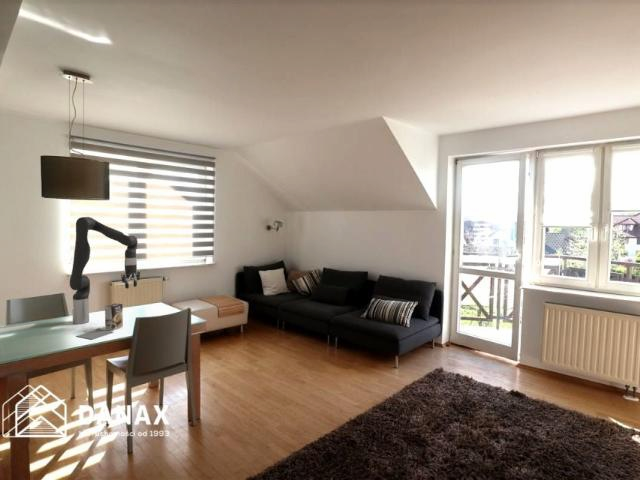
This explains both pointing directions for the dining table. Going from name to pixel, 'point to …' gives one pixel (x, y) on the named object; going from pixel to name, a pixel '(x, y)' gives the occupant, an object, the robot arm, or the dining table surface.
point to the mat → (95, 334)
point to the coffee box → (113, 316)
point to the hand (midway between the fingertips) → (131, 287)
